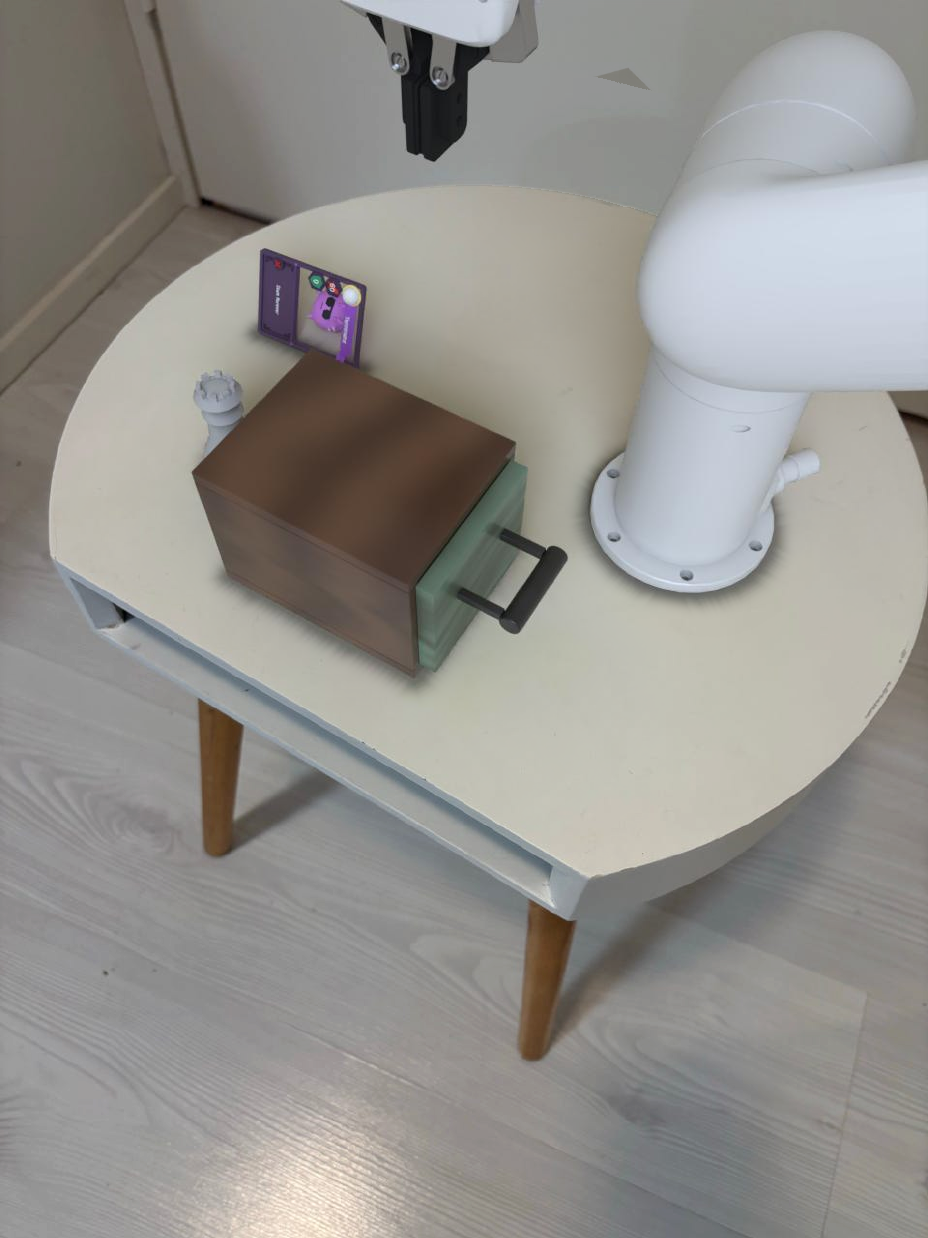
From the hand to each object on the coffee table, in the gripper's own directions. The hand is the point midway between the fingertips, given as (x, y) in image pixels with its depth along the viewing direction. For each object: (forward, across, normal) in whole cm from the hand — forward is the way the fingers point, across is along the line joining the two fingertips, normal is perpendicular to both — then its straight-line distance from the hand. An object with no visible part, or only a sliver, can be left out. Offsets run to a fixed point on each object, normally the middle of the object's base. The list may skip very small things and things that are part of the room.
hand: (435, 143), depth 51 cm
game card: (+23, -14, +4) cm, 27 cm away
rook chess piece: (+23, -11, -10) cm, 28 cm away
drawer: (+22, +6, -12) cm, 26 cm away
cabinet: (+23, +2, -12) cm, 26 cm away
